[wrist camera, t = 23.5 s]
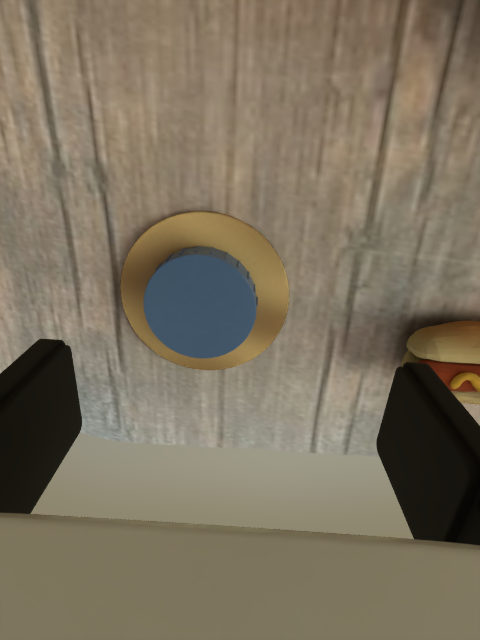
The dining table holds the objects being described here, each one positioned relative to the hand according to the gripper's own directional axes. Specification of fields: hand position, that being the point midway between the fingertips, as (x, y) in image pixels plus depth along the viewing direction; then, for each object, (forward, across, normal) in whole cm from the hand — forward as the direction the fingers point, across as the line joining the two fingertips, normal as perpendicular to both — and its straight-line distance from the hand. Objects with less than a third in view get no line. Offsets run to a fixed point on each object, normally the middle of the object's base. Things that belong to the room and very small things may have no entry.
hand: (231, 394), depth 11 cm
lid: (+12, +2, +2) cm, 12 cm away
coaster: (+14, +2, +2) cm, 14 cm away
